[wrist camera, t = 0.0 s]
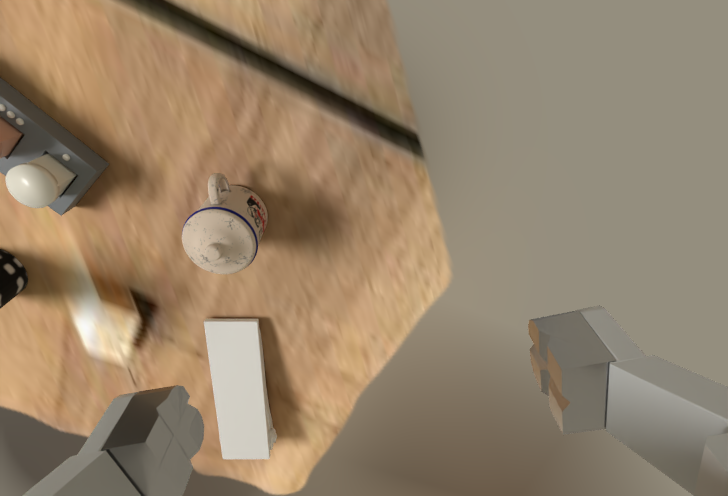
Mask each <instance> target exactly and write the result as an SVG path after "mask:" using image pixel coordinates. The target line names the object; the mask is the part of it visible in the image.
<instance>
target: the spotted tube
mask: <svg viewBox="0 0 728 496" xmlns="http://www.w3.org/2000/svg"><path fill="white" fill-rule="evenodd" d="M27 282H28V276H27V273H26V270H25V268H24V267H23V265H22V264H21V263H20V261H18V260H17V259H16V258H15V257H14V256H12V255H11V254H10V253H8V252H6V251H4V250H1V249H0V308H1V307H3V306H4V305H5V304H6V303H8V302H9V301H10V300H11V299H12V298H14V297H15V296H16V295H17V294H19V293H20V292H21V291H22V290H23V289H24V288H25V287H26V285H27Z"/></svg>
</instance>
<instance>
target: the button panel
mask: <svg viewBox="0 0 728 496" xmlns="http://www.w3.org/2000/svg"><path fill="white" fill-rule="evenodd" d="M0 116H1V117H2V118H4V119H5V120H6V121H7V122H9V123H10V124H11V125H13V126H14V127H15V128H17V129H18V130H19V131H21V132H22V133H23V134H25V135H24V137H23V138H22V139H21V141H20V142H19V144H18V145H17V147H16V146H15V147H14V149H13V150H12V151H11V153H10V154H9V155H7V156H5V157H2V158H0V172H1V173H2V174H4V175H5V176H6V175H7V173H8V171H9V170H10V169H11V168H13V167H15V166H18V165H20V164H23V163H28V162H30V161H32V160H34V159H37V158H39V157H41V156H43V155H46V154H48V153H49V154H51V155H52V156H53V157H55V158H56V159H57V160H59V161H60V162H61V163H63V164H64V165H65V166H66V167H68V168H69V169H70V170H72V171H73V172H74V173H76V174H77V175H78V177H77V178H76V179H75V180H74V182H73V183H72V184H71V186H68V187H67V188H66V189H65V191H64V192H63V193H62V194H61V195H59V196H58V198H57V199H56V200H55V201H54V202H52V203H51V204H49V205H48V206H49V207H50V208H51V209H53V210H54V211H55V212H57V213H58V214H60V215H63V214H64V213H66V212H67V211H69V210H70V209H72V208H73V207H75V205H76V204H77V203H78V202H79V200H80V199H81V198H82V197H83V196H84V194H85V193H86V192H87V191H88V189H89V188H90V187H91V186H92V185H93V183H94V182H95V181H96V180H97V178H98V177H99V176H100V175H101V174H102V172H103V171H104V170H105V169H106V167H107V166H108V165H109V163H107V162H106V161H105V160H104V159H102V158H101V157H100V156H99V155H97V154H96V153H95V152H94V151H92V150H91V149H90V148H89V147H87V146H86V145H85V144H84V143H82V142H81V141H80V140H78V139H77V138H76V137H75V136H73V135H72V134H71V133H70V132H68V131H67V130H66V129H65V128H63V127H62V126H61V125H60V124H58V123H57V122H56V121H55V120H53V119H52V118H51V117H50V116H48V115H47V114H46V113H45V112H43V111H42V110H41V109H39V108H38V107H37V106H36V105H34V104H33V103H32V102H31V101H29V100H28V99H27V98H26V97H24V96H23V95H22V94H21V93H19V92H18V91H17V90H16V89H14V88H13V87H12V86H11V85H9V84H8V83H7V82H6V81H4V80H3V79H2V78H1V77H0Z"/></svg>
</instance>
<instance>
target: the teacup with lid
mask: <svg viewBox="0 0 728 496" xmlns="http://www.w3.org/2000/svg"><path fill="white" fill-rule="evenodd" d="M219 187H220V188H219ZM208 193H209V197H208V198H207V199H206V201H205V202H204V203H203V204H202V205H201V207H200V208H199V209H198V210H197V211H196V212H195V213H193V214H192V215H191V216H190V217H189V218H188V219H187V221H186V222H185V224H184V227H183V230H182V242H183V246H184V249H185V251H186V253H187V255H188V256H189V257H190V259H191V260H192V261H193V262H194V263H195V264H196V265H198V266H199V267H201V268H202V269H204V270H206V271H209V272H212V273H216V274H231V273H236V272H238V271H241V270H243V269H244V268H246V267H247V266H248V265H249V264H250V263H251V262H252V261H253V260H254V258H255V256H256V253H257V249H258V244H259V242H260V240H261V237H262V235H263V233H264V230H265V228H266V226H267V221H268V214H267V209H266V207H265V205H264V203H263V201H262V200H261V199H260V197H259V196H258V195H256V194H255V193H254V192H253V191H251V190H249V189H247V188H244V187H241V186H235V185H229V183H228V180H227V178H226V177H225V176H224V175H223V174H221V173H214V174H212V175H211V176H210V178H209V181H208Z"/></svg>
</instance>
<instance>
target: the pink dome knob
mask: <svg viewBox="0 0 728 496" xmlns="http://www.w3.org/2000/svg"><path fill="white" fill-rule="evenodd" d="M22 136H23V133H22V132H21V131H19V130H18V129H17V128H15V127H14V126H13V125H11V124H10V123H9V122H7V121H6V120H5V119H4V118H2V117H1V116H0V158H2V157H5V156H7V155H9V154H10V153H11V151H12V150H13V149H14V147H15V146H16V144H17V143H18V141H19V140H20V139H21V137H22Z"/></svg>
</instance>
